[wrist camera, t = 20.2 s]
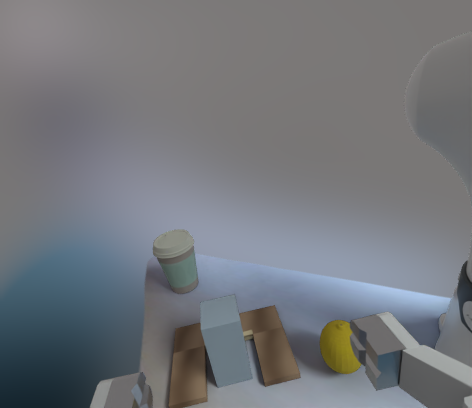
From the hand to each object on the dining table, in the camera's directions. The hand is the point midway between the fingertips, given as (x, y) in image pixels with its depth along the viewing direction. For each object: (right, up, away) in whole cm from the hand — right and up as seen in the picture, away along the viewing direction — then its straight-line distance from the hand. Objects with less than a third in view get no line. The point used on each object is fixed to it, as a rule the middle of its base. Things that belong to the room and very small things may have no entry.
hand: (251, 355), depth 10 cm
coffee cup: (-12, -12, +50) cm, 53 cm away
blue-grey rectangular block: (-1, -18, +30) cm, 35 cm away
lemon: (+14, -17, +27) cm, 35 cm away
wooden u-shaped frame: (-1, -18, +32) cm, 37 cm away
